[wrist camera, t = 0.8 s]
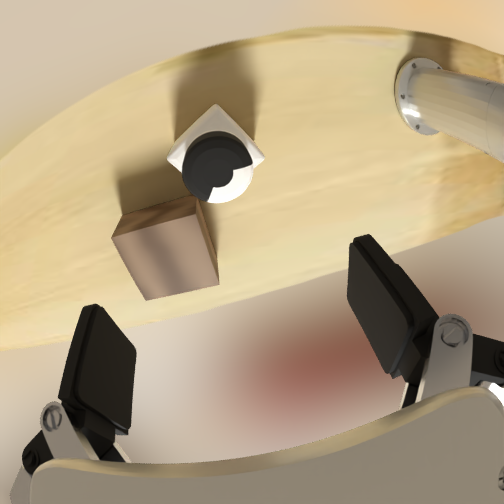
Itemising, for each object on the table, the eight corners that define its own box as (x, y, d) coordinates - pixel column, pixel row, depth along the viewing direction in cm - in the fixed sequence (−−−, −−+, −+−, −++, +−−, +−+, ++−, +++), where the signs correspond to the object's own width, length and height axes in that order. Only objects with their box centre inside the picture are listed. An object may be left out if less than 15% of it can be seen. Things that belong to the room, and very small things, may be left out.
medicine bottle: (172, 143, 30) (156, 175, 21) (215, 102, 28) (220, 112, 19) (213, 180, 34) (217, 227, 24) (255, 142, 32) (278, 174, 22)
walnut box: (197, 193, 35) (195, 214, 30) (217, 258, 42) (219, 284, 37) (122, 214, 35) (111, 237, 30) (150, 273, 41) (145, 300, 36)
